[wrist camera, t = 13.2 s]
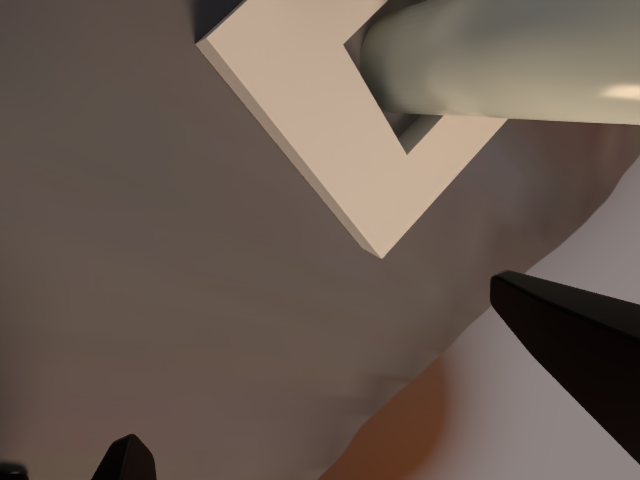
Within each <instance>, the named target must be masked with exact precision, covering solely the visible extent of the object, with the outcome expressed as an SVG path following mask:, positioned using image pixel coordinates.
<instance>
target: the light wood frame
mask: <svg viewBox="0 0 640 480" xmlns="http://www.w3.org/2000/svg"><path fill="white" fill-rule="evenodd" d="M424 1H427V0H243V1H242V2H241V3H240V4H239V5H237V6H236V7H235V8H234V9H233V10H232V11H231V12H230V13H229V14H228V15H227V16H225V17H224V18H223V19H222V20H221V21H220V22H219V23H218V24H217V25H216V26H215V27H214V28H212V29H211V30H210V31H209V32H208V33H207V34H206V35H205V36H204V37H203V38H202V39H200V40H199V41H198V42H197V43H196V44H195V45H196V46H197V47H198V48H199V50H200V51H201V52H202V53H203V54H204V56H205V57H206V58H207V59H208V61H209V62H210V63H211V64H212V65H213V67H214V68H215V69H216V70H217V72H218V73H219V74H220V75H221V76H222V78H223V79H224V80H225V81H226V83H227V84H228V85H229V86H230V87H231V89H232V90H233V91H234V92H235V93H236V95H237V96H238V97H239V98H240V100H241V101H242V102H243V103H244V104H245V106H246V107H247V108H248V109H249V111H250V112H251V113H252V114H253V115H254V117H255V118H256V119H257V120H258V122H259V123H260V124H261V125H262V126H263V128H264V129H265V130H266V131H267V133H268V134H269V135H270V136H271V137H272V139H273V140H274V141H275V142H276V144H277V145H278V146H279V147H280V148H281V150H282V151H283V152H284V153H285V155H286V156H287V157H288V158H289V159H290V161H291V162H292V163H293V164H294V166H295V167H296V168H297V169H298V170H299V172H300V173H301V174H302V175H303V176H304V178H305V179H306V180H307V181H308V183H309V184H310V185H311V186H312V187H313V189H314V190H315V191H316V192H317V194H318V195H319V196H320V197H321V198H322V200H323V201H324V202H325V203H326V205H327V206H328V207H329V208H330V209H331V211H332V212H333V213H334V214H335V216H336V217H337V218H338V219H339V220H340V222H341V223H342V224H343V225H344V227H345V228H346V229H347V230H348V231H349V233H350V234H351V235H352V236H353V238H354V239H355V240H356V241H357V242H358V244H359V245H360V246H361V247H362V248H363V249H365V250H367V251H368V252H370V253H372V254H374V255H375V256H377V257H379V258H381V259H382V258H383V257H384V256H385V255H386V254H387V253H388V251H389V250H390V249H391V248H392V247H393V246H394V245H395V244H396V243H397V241H398V240H399V239H400V238H401V237H402V236H403V235H404V234H405V233H406V231H407V230H408V229H409V228H410V227H411V226H412V225H413V224H414V223H415V221H416V220H417V219H418V218H419V217H420V216H421V215H422V214H423V213H424V211H425V210H426V209H427V208H428V207H429V206H430V205H431V204H432V203H433V201H434V200H435V199H436V198H437V197H438V196H439V195H440V194H441V193H442V191H443V190H444V189H445V188H446V187H447V186H448V185H449V184H450V183H451V181H452V180H453V179H454V178H455V177H456V176H457V175H458V174H459V173H460V171H461V170H462V169H463V168H464V167H465V166H466V165H467V164H468V163H469V162H470V160H471V159H472V158H473V157H474V156H475V155H476V154H477V153H478V152H479V150H480V149H481V148H482V147H483V146H484V145H485V144H486V143H487V142H488V140H489V139H490V138H491V137H492V136H493V135H494V134H495V133H496V132H497V130H498V129H499V128H500V127H501V126H502V125H503V124H504V123H505V122H506V120H507V119H508V118H489V117H469V116H448V115H427V114H407V113H390V112H386V111H384V110H381V109H380V108H379V106H378V104H377V102H376V101H375V99H374V97H373V96H372V94H371V92H370V90H369V89H368V87H367V85H366V83H365V82H364V80H363V78H362V77H361V74H360V54H361V48H362V45H363V41H364V39H365V36H366V34H367V32H368V31H369V29H370V27H371V26H372V25H373V23H374V22H375V21H376V20H377V19H378V18H380V17H381V16H382V15H384V14H386V13H388V12H391V11H394V10H397V9H401V8H404V7H407V6H411V5H414V4H417V3H421V2H424Z"/></svg>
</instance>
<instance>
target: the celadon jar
mask: <svg viewBox="0 0 640 480" xmlns="http://www.w3.org/2000/svg"><path fill="white" fill-rule="evenodd" d="M360 74H361V77H362V78H363V80H364V82H365V83H366V85H367V87H368V89H369V90H370V92H371V94H372V96H373V97H374V99H375V101H376V102H377V104H378V106H379V108H380V109H381V110H384V111H386V112H390V113H407V114H427V115H448V116H469V117H489V118H510V119H531V120H552V121H572V122H593V123H614V124H634V125H640V0H427V1H424V2H421V3H417V4H414V5H411V6H407V7H404V8H401V9H397V10H394V11H391V12H388V13H386V14H384V15H382V16H381V17H380V18H378V19H377V20H376V21H375V22H374V23H373V25H372V26H371V27H370V29H369V31H368V32H367V34H366V36H365V39H364V41H363V45H362V48H361V54H360Z"/></svg>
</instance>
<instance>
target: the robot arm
mask: <svg viewBox="0 0 640 480" xmlns="http://www.w3.org/2000/svg"><path fill="white" fill-rule="evenodd" d="M490 302H491V304H492V306H493V308H494V309H495V311H496V312H497V313H498V314H499V315H500V317H501V318H502V319H503V320H504V322H505V323H506V324H507V325H508V327H509V328H510V329H511V330H512V332H514V334H515V335H516V336H517V338H518V339H519V340H520V341H521V343H522V344H523V345H524V346H525V348H526V349H527V350H528V351H529V352H530V353H531V355H532V356H533V357H534V358H535V359H536V360H537V361H538V362H539V363H540V364H541V365H542V366H543V367H544V368H545V369H546V370H547V371H548V372H549V373H550V374H551V375H552V376H553V377H554V378H555V379H556V380H557V381H558V382H559V383H560V384H561V385H562V386H563V387H564V389H565V390H566V391H568V392H569V394H570V395H571V396H572V397H573V398H575V400H576V401H577V402H578V403H579V404H580V405H581V406H582V407H583V408H584V409H585V410H586V411H587V412H588V413H589V414H590V415H591V416H592V417H593V418H594V419H595V420H596V421H597V422H598V423H599V424H600V425H601V426H602V427H603V428H604V429H605V430H606V431H607V432H608V433H609V434H610V435H611V436H612V437H613V438H614V439H615V440H616V441H617V442H618V443H619V444H620V445H621V446H622V447H623V448H624V449H625V450H626V451H627V452H628V453H629V454H630V455H631V456H632V457H633V458H634V459H635V460H636V461H637V462H638V463H639V464H640V305H639V304H635V303H631V302H627V301H624V300H620V299H616V298H612V297H609V296H605V295H601V294H597V293H593V292H589V291H586V290H582V289H579V288H574V287H571V286H567V285H563V284H559V283H556V282H552V281H548V280H544V279H540V278H537V277H533V276H529V275H526V274H522V273H518V272H514V271H510V270H504V271H501V272H499V273H497V274H494V275H493V276H492V277H491V280H490ZM0 480H29V478H28V477H27V476H26V475H23V474H7V473H0ZM91 480H157V479H156V470H155V462H154V458H153V455H152V453H151V452H150V451H149V449H148V448H147V447H146V446H145V445H144V444H143V443H142V441H141V440H140V439H139V438H138V437H137V436H136V435H134V434H129V435H127V436H125V437H122V438H120V439H118V440H116V441H114V442H113V443H112V444H111V445H110V447H109V449H108V451H107V452H106V454H105V456H104V458H103V459H102V461H101V463H100V465H99V466H98V468H97V470H96V472H95V473H94V475H93V477H92V479H91Z"/></svg>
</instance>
